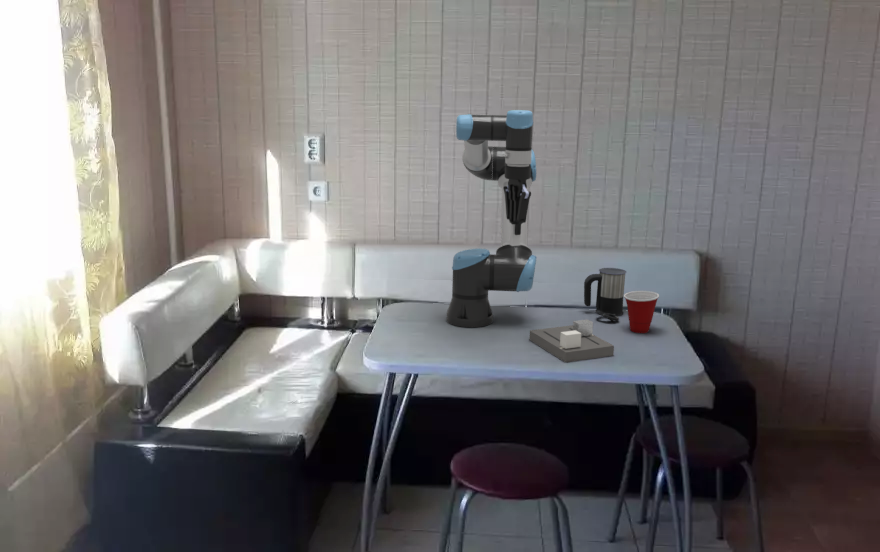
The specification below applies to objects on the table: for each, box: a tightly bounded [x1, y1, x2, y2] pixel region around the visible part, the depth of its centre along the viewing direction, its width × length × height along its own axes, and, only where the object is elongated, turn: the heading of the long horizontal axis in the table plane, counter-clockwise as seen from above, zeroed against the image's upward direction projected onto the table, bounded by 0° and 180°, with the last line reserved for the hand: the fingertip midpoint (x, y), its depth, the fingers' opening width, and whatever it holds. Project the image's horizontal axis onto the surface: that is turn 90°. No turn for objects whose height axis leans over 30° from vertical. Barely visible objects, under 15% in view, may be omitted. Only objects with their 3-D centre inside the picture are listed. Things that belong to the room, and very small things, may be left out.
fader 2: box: [572, 319, 594, 336], centre depth 244 cm, size 3×5×4 cm, turn 113°
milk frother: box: [583, 267, 627, 323], centre depth 273 cm, size 14×16×15 cm
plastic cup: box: [623, 290, 660, 334], centre depth 258 cm, size 11×11×12 cm
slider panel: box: [528, 324, 615, 363], centre depth 243 cm, size 21×16×3 cm
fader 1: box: [560, 330, 581, 349], centre depth 234 cm, size 3×5×4 cm, turn 113°
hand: (515, 245), depth 242 cm, fingers closed
